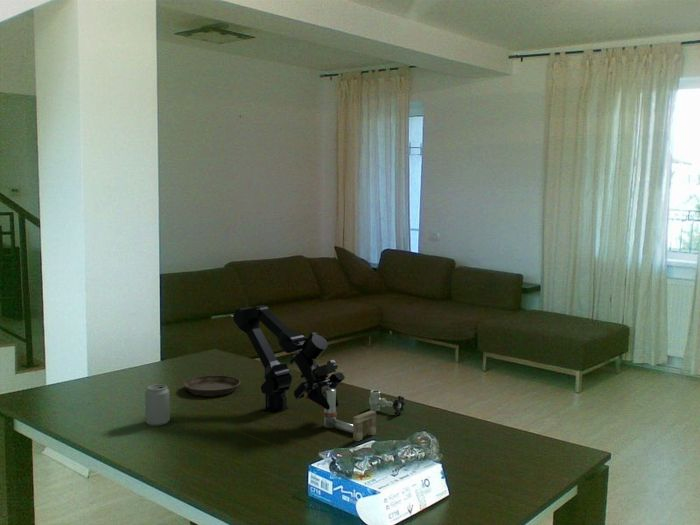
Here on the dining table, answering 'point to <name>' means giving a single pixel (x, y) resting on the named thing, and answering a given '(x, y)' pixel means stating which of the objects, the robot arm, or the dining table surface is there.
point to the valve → (384, 402)
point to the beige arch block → (358, 424)
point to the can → (157, 405)
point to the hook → (333, 412)
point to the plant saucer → (211, 385)
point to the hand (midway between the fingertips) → (333, 407)
